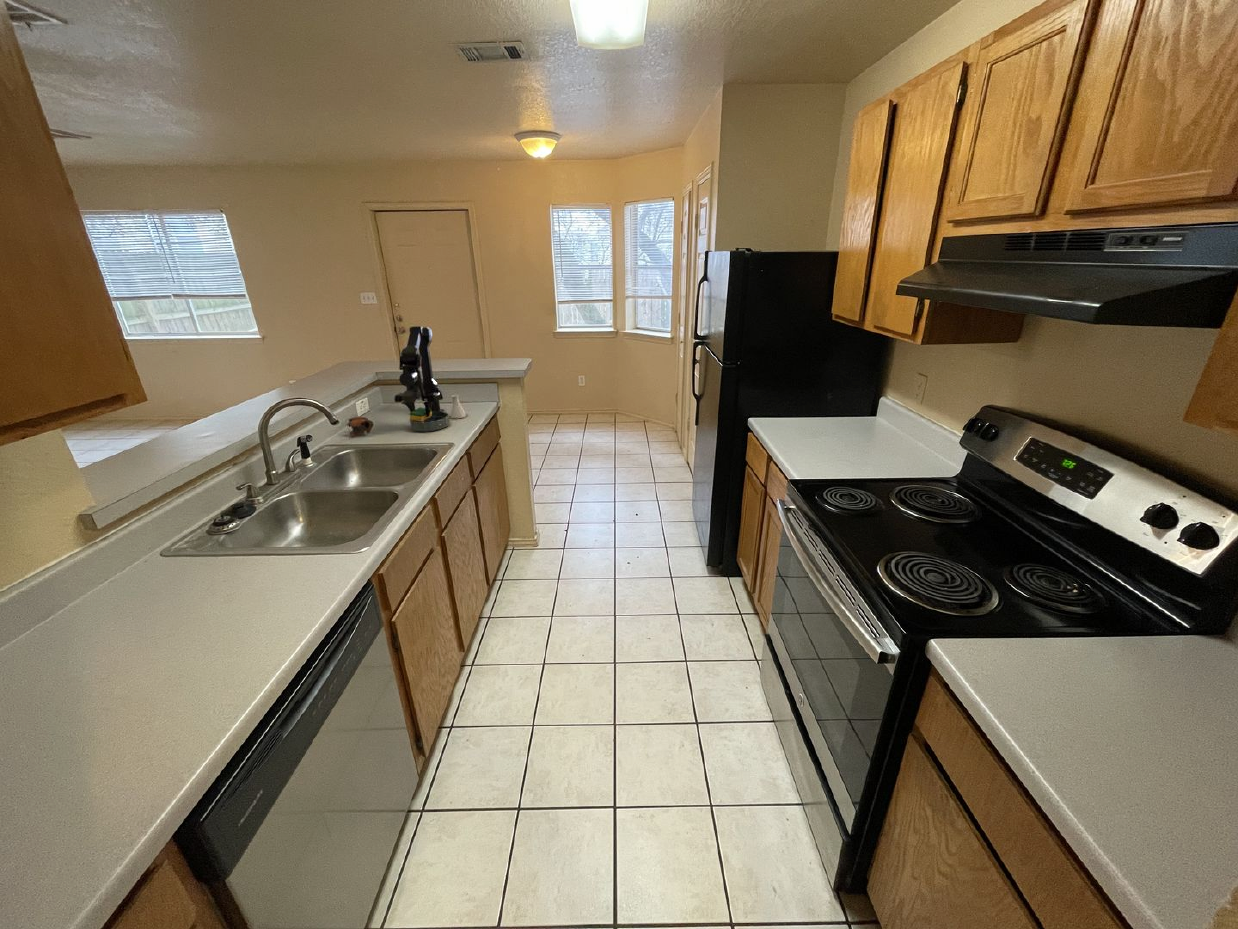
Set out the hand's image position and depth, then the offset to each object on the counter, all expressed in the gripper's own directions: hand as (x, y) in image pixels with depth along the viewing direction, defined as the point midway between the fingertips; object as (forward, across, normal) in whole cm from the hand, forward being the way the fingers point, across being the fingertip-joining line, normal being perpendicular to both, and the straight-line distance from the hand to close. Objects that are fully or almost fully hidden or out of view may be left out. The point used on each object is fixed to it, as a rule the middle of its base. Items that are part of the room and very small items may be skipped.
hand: (421, 416), depth 221 cm
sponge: (0, 0, 0) cm, 0 cm away
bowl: (+5, +4, 0) cm, 6 cm away
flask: (+5, +10, +15) cm, 18 cm away
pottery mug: (+5, -22, -10) cm, 25 cm away
